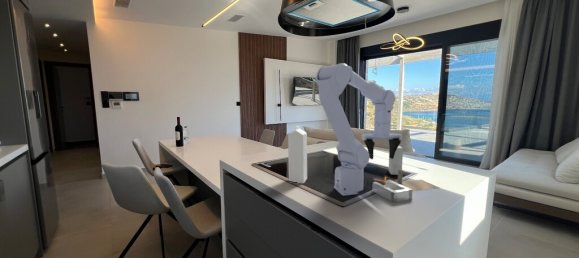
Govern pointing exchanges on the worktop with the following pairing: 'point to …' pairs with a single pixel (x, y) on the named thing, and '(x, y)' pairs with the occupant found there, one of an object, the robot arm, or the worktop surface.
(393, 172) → the skincare box
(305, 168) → the milk
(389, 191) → the c link
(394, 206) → the worktop surface
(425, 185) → the stand
